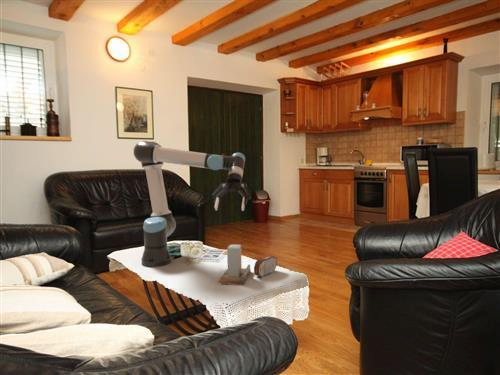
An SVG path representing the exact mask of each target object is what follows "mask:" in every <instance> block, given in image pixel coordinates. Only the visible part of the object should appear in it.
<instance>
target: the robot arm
mask: <svg viewBox="0 0 500 375" xmlns="http://www.w3.org/2000/svg"><path fill="white" fill-rule="evenodd" d="M133 157H134V158H135V159H136V160H137V161H138V162H140V164H141V168H143V170H145V174H146V176H145V177H146V180H147V186H148V191H149V198H150V202H151V203H150V204H151V209H152V213H151V214H150V217H148V218H146V219H145V220H144V222H143V226H142V228H143V243H144V245H143V246H144V250H143V252H142V253H143V254H142V256H141V265H142V266H144V267H161V266H166V265H169V264H170V263H171V262H172V257H171V254H170V251H169V248H168V237H170V236H171V235H172V234H173V233H174V232H175V230H176V226H177V223H176V220H175V218H174V217H173V214H172V211H171V210H169V206H168V200H167V195H166V188H165V182H164V176H163V171H162V167H163V165H164V163H166V164H174V165H182V166H187V167H195V168H201V169H202V168H203V169H208V170H212V171H218V170H226V171H227V170H228V175H227V180H226V183H224V182H222V181H221V182H220V184H219V186H218V187H217V188H216V189H215V190H214V191H213V193H212V194H211V198H212V199H213V204H214V207H213V208H214V210H215V211H218V208H219V203H220V199H221V198H222V197H223V196H225V194H228V193H229V192H234V193H235V192H237V193H239V195H240V196H241V197H242V202H241V211H242V212H244V211H245V206H247V204H248V200H252V195H251V193H250V191H249V189H248V185H247V182H243V176H244V175H243V174H244V168H245V164H246V156H245V155H244V154H243V153H242V152H235V153H233V154H232V155H221V154H213V153H206V152H197V151H190V150H184V149H183V150H182V149H175V148H171V147H170V148H169V147H164V146H162V145H161V144H160V143H157V142H155V141H150V140H149V141H147V140H142V141H140V142H137V143H136V144H135V146H134V148H133ZM242 182H243V183H242ZM241 188H243V189H244V191H245V192H244V191H243V190H242V189H241Z"/></svg>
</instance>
